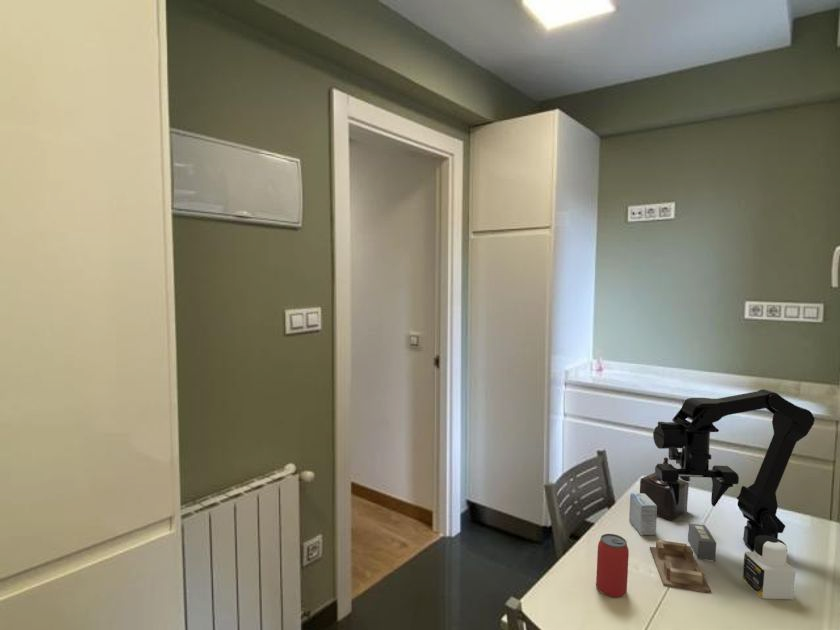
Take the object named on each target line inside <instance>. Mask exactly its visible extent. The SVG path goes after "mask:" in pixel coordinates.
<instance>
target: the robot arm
mask: <svg viewBox="0 0 840 630" xmlns="http://www.w3.org/2000/svg"><path fill="white" fill-rule="evenodd" d="M762 409H763V410H764V409H766V411H769V412H770V413H771V414H773V415H772V419H771V420H772V421H771V423H772V429H773V435H772V438H771V441H770V442H769V446H768V448H767V450H766V452H765V455H764V457H763V459H762V462H761V465H760V467H759V470H758V473H757V475H756V477H755V480H754V481H753V484H751V485H749V486H748V487H747V486H745V485H743V486H741V488H740V492H739V494H738V496H737V497H736V499H737V507H738V509H739V511H740V512H741V513H742V516H743V518H745V519H747V520H746V525H745V526H744V529H743V537H742V540H743V541H744V543H745V544H746V545H747V547H748V548H749V549H750V552H754V545H755V538H756V537H757V536H759V535H767V536H772V537H775V538H777V539H779V538H778V537H779V534H783V533H784V531H785V528H786V525H785V523H783V521H782V520H781V519H780V518H779V517H778V516H777V510H778V507H779V505H778V500H777V495H776V493H777V491H778V488H779V486H780V482H781V481H782V478H783V476H784V473H785V471H786V468H787V466H788V463H789V462H790V458H791V456H792V453H793V452H794V449H795V447H796V444H797V442H799V441H800V440H802V439H803V438H805V437H806V436H807V435H808V434H809V432H810V431H811V429H812V428H813V426H814V423H815V416H814V414H813V413H812V412H811V411H810V410H809V409H806V408H804V407H800V406H798V405H796V404H794V403H792V402H790V401H788V399H785V398H784V397H783V396H782V395H780V394H779V393H777V392H774V391H771V390H768V389H765V388H763V389H760V390H757V391H752V392H751V391H750V392H747V393H742V394H735V395H730V396H724V397H718V398H710V397H689V398H686V399H685V400H684V402H683V404H682V406H681V408H680V409H679V410H678V412H677V413H676V415H675V416H674V417H673V418H672V420H671V421H672V422H671V421H669V422H668V421H657V426H655V427H654V430H653V432H652V438H653V441H654V444H655V447H657V448H658V449H661V450H662V449H663V450H664V449H666V450H667V449H668V460H670V461H675V463H676V464H677V465H678V464H679V467H680V468H676V467H675V468H676V469H675V468H674V466H673V465H672V464H671V463H668V464H663V463H657V464H656V466H655V467H654V473H656V475H657V476H658V477H659V478H660V479H661V480H662V481H664V482H666V484H668V485H669V487H670V490H671V493H672V496H673V499H674V502H675V504H676V505H678V502H679V483H678V482H677V480H678V479H679V478H680V477H690V478H710V479H711V482H712V485H711V486H712V487H711V497H710V501H711V505H712V507H716V505H717V504H718V503H719V501H720V499H721V498H722V496H723V495H724V494H725V493H726V492H727V491H728V490H729V488H733V487H734V485H739V481H740V477H739V473H737V472H736V471H735V470H734V469H732V468H731V467H730V466H728V465H713V466H712V469H709V467H710V466H709V465H710V460H712V455H711V454H710V446H711V445H710V444H711V443H710V442H711V440H710V439H711V433H718V432H719V431H720V430H719V429H718V428H717V427H716V426H715V425H714V424H715V423H716V422H719V421H720V420H721V419H722V418H724V417H726V416H729V415H731V416H732V415H736V414H737V415H738V414H742V413H747V412H751V411H753V412H754V411H758V410H759V411H760V410H762ZM687 419H688V420H687ZM689 420H691V421H689ZM679 449H681V451H679ZM681 467H684V469H681ZM679 480H680V479H679Z"/></svg>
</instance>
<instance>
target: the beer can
mask: <svg viewBox="0 0 840 630" xmlns="http://www.w3.org/2000/svg"><path fill="white" fill-rule="evenodd" d="M597 544H598V545H597V554H596V555H597V557H596V576H595V577H596V578H595V580H596V581H595V582H596V583H595V586H596V589H597V590H598V591H599V592H600V593H601V594H603V595H605V596H606V597H609V598H612V599H613V598H614V599H617V598H619V599H620V598H623V597H625V596H626V594H627V591H628V575H629V558H630V555H629V547H628V543H627V540H626V539H625V538H624V537H622V536H621V535H619V534H615V533H604V534H602V535H601V536H600V540H599V541H598V543H597Z"/></svg>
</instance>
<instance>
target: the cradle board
mask: <svg viewBox="0 0 840 630" xmlns="http://www.w3.org/2000/svg"><path fill="white" fill-rule="evenodd" d="M649 551H650V553H651V556H652V559H653V561H654V564H655V567H656V569H657V573H658V575H659V579H660V580H661V583H662V585H663V586H664V587H668V588H669V587H670V588H676V589H677V588H678V589H682V590H689V591H694V592H695V591H696V592H701V593H708V594H712V589H711V587H710V585H709V582H708V581H707V579H706V577H705V572H704V570H703V567H702V566H699V564H698V562H697V560H696V557H695V556H694V551H693V549H692V547H691V545H687V543H683V542H682V543H681V542H676V541H668V540H667V541H666V540H660V539H658V541H655V546H649Z"/></svg>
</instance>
